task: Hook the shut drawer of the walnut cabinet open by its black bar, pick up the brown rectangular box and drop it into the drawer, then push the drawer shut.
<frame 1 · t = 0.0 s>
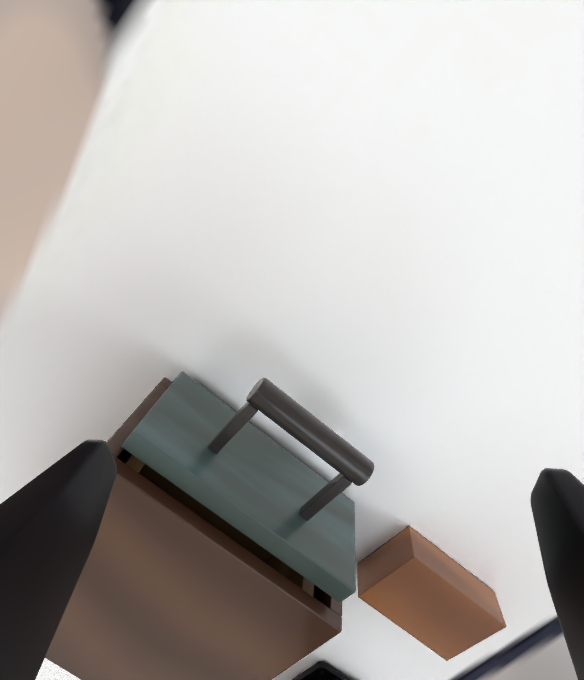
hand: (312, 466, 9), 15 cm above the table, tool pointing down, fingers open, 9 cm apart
drawer: (216, 516, 25), point 4 cm above the table, slide at 0.5 cm
brown rectangular box: (425, 577, 30), on the table
cabinet: (194, 510, 30), on the table
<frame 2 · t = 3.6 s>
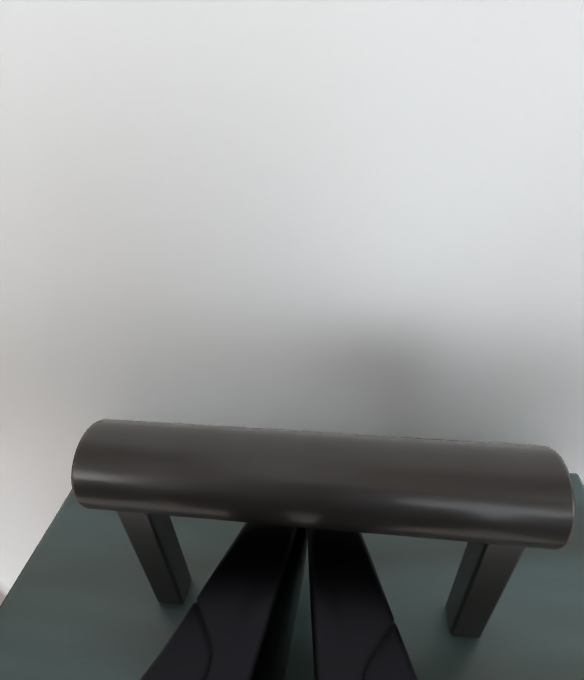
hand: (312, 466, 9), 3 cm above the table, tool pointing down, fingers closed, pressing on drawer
drawer: (317, 645, 12), point 4 cm above the table, slide at 3.8 cm, touching gripper
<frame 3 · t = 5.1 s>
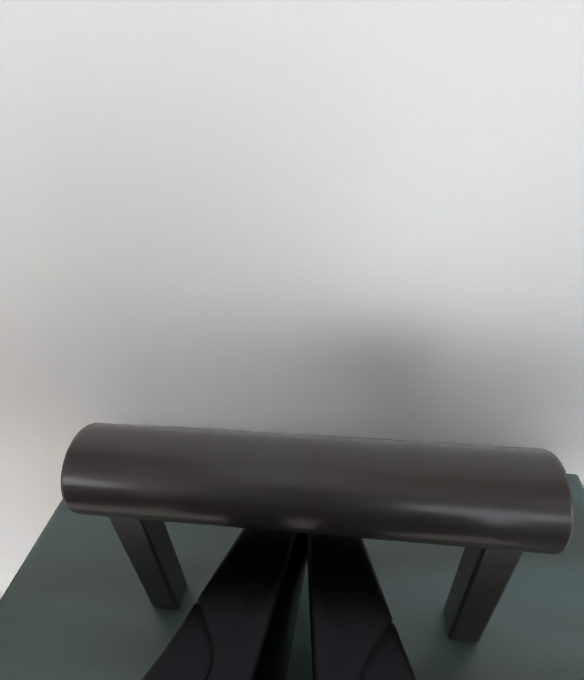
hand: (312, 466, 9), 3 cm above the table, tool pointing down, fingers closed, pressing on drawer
drawer: (315, 648, 12), point 4 cm above the table, slide at 9.6 cm, touching gripper
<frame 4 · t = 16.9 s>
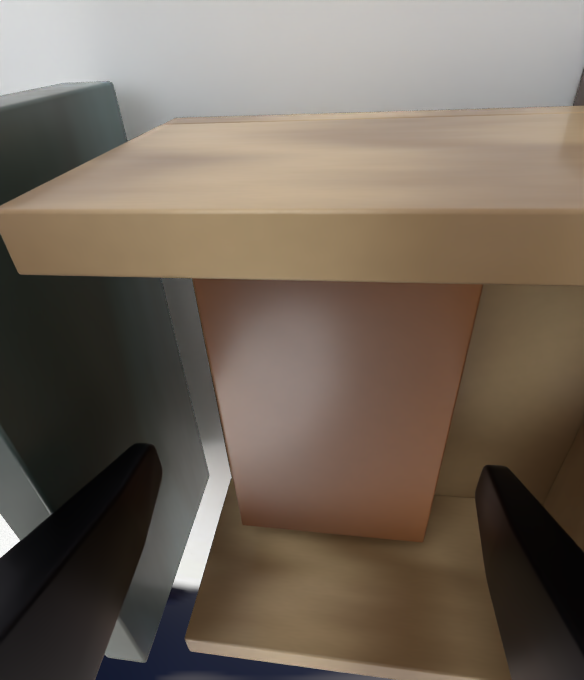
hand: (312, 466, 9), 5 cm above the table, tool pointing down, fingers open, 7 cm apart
drawer: (255, 417, 10), point 4 cm above the table, slide at 9.7 cm, touching brown rectangular box, gripper
brown rectangular box: (336, 364, 12), point 2 cm above the table, touching drawer
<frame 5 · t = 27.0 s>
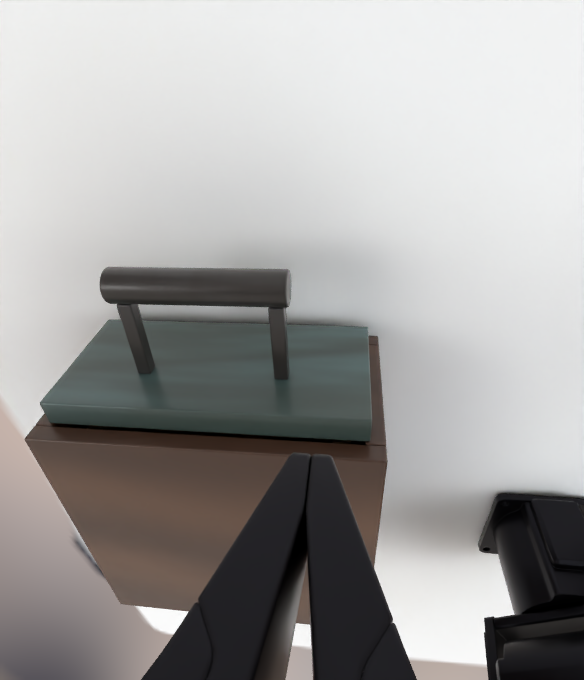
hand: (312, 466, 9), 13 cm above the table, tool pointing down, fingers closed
drawer: (230, 428, 22), point 4 cm above the table, slide at 0.0 cm, touching cabinet, brown rectangular box
brown rectangular box: (243, 423, 25), point 2 cm above the table, touching drawer
cabinet: (252, 426, 28), on the table
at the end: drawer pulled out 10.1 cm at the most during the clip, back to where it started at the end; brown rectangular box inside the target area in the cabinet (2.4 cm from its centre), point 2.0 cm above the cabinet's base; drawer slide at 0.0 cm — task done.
